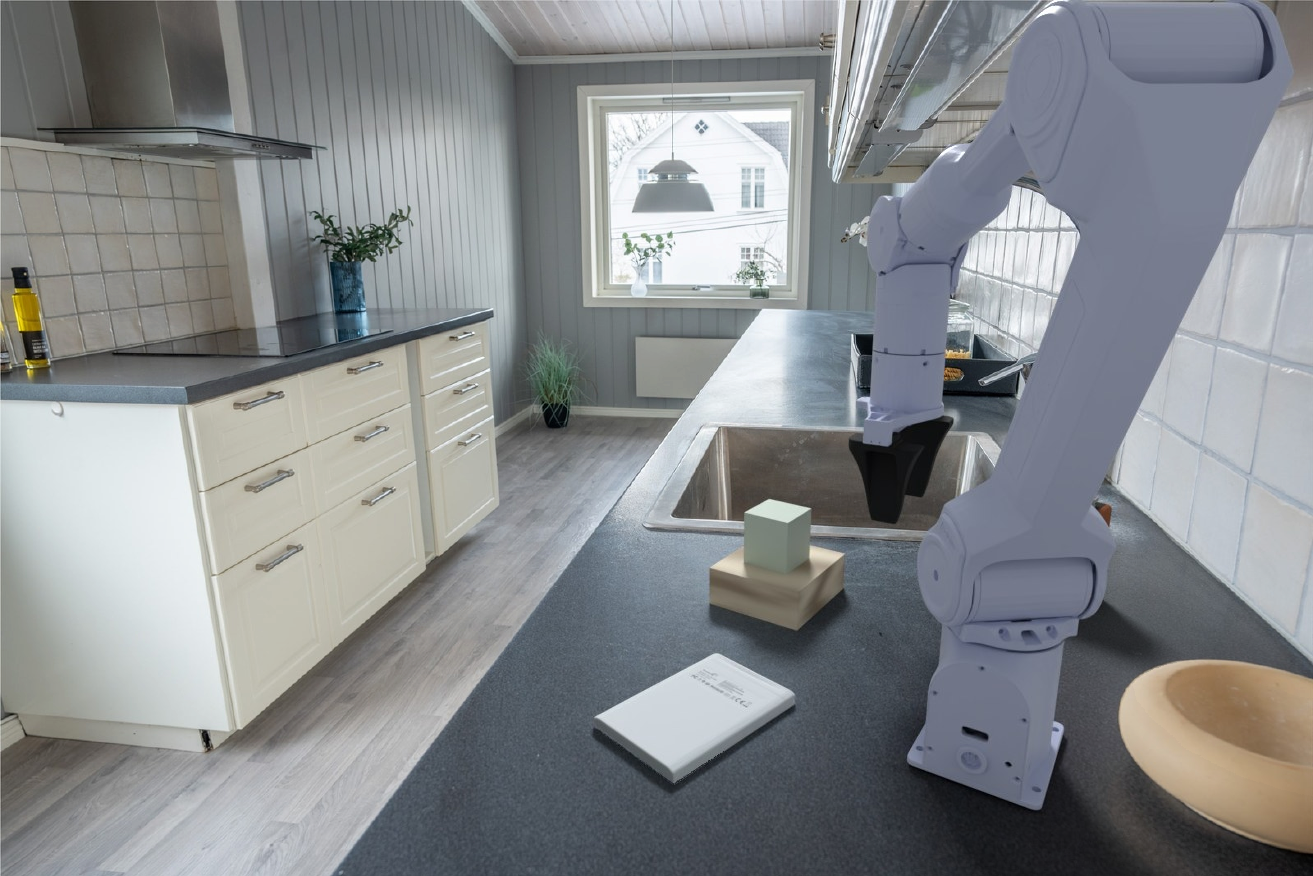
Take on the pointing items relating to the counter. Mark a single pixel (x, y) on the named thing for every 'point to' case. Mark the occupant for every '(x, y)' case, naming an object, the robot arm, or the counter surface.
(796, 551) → the sage block
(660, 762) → the external hard drive
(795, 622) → the birch block
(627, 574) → the counter surface
